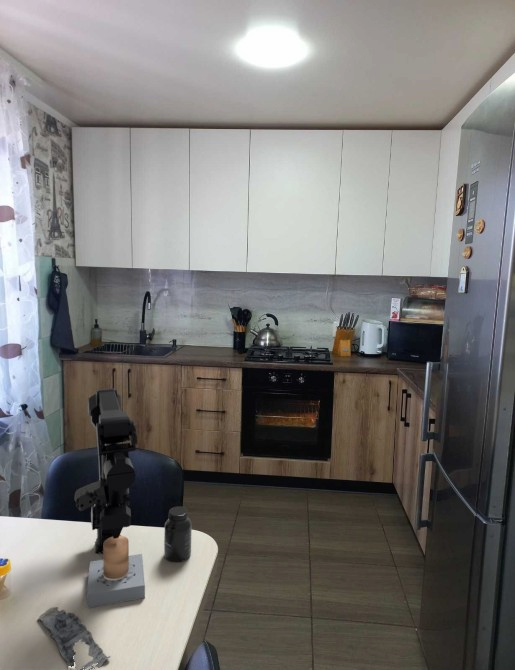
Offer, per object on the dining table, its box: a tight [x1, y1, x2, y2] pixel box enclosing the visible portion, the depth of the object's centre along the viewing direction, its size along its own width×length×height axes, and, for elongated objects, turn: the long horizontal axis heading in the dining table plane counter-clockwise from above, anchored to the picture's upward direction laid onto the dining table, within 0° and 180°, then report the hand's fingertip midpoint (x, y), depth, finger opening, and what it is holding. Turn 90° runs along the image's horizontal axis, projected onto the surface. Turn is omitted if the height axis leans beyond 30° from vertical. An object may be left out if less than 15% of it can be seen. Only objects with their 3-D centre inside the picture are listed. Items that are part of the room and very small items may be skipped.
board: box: [86, 553, 146, 609], centre depth 103 cm, size 12×12×3 cm
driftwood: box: [37, 606, 111, 670], centre depth 88 cm, size 21×7×2 cm, turn 43°
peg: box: [102, 535, 130, 581], centre depth 103 cm, size 6×6×10 cm
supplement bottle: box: [163, 506, 193, 563], centre depth 115 cm, size 7×7×12 cm
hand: (116, 537), depth 102 cm, fingers closed
